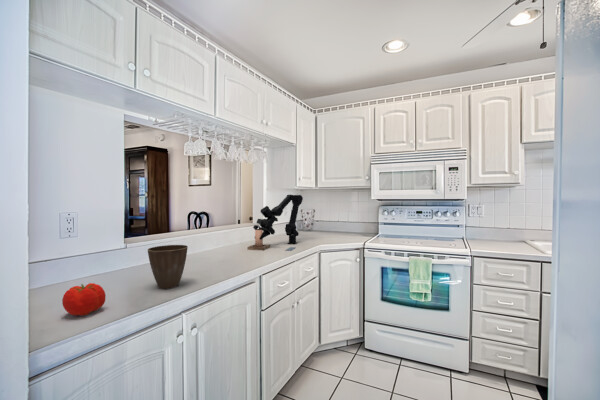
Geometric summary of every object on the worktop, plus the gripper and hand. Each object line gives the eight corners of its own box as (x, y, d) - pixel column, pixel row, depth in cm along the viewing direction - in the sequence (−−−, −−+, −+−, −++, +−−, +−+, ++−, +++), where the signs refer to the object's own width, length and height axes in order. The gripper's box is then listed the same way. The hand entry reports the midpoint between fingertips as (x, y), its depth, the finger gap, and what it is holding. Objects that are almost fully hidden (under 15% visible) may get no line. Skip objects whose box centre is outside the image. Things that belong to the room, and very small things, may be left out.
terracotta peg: (257, 247, 199) (257, 229, 198) (263, 247, 197) (263, 229, 197) (254, 248, 194) (253, 230, 193) (260, 249, 192) (260, 230, 192)
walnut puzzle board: (255, 247, 203) (255, 244, 203) (270, 248, 199) (270, 244, 199) (247, 250, 191) (247, 246, 191) (263, 251, 188) (263, 247, 188)
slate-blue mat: (281, 247, 203) (281, 246, 203) (295, 248, 200) (295, 247, 200) (275, 250, 192) (275, 249, 192) (290, 250, 189) (290, 250, 189)
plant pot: (139, 289, 110) (138, 249, 110) (170, 279, 124) (170, 243, 124) (166, 294, 104) (165, 252, 104) (195, 283, 118) (195, 245, 118)
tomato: (57, 323, 81) (57, 293, 81) (70, 309, 91) (69, 283, 91) (101, 316, 85) (101, 288, 85) (108, 304, 95) (108, 278, 95)
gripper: (255, 214, 204) (242, 230, 196) (271, 215, 192) (259, 232, 184) (263, 224, 210) (251, 240, 202) (280, 225, 197) (268, 243, 189)
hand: (257, 238), depth 194 cm, fingers closed on terracotta peg, 5 cm apart
